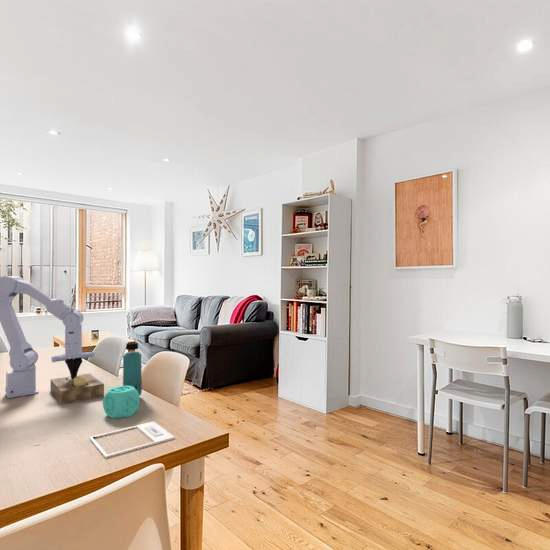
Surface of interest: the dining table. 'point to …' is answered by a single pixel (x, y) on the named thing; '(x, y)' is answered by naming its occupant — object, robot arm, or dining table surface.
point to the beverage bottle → (132, 368)
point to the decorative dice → (121, 401)
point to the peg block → (76, 389)
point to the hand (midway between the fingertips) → (73, 378)
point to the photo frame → (148, 429)
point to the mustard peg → (79, 381)
